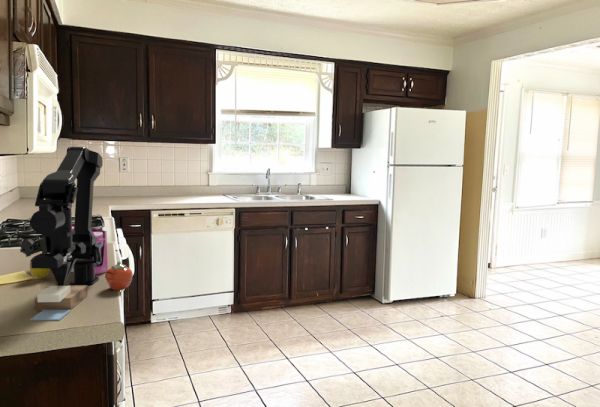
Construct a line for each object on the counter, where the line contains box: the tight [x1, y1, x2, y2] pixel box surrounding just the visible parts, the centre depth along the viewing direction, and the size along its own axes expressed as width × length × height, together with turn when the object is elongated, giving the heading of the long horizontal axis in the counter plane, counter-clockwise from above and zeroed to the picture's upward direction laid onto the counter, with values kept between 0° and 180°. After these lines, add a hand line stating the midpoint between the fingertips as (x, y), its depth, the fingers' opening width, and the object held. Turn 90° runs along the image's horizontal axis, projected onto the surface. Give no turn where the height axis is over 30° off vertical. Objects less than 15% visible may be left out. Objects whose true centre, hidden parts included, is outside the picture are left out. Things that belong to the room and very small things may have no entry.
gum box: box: [70, 223, 109, 275], centre depth 152 cm, size 24×8×14 cm, turn 55°
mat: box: [29, 310, 72, 322], centre depth 110 cm, size 6×6×1 cm
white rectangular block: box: [36, 285, 71, 302], centre depth 114 cm, size 7×5×2 cm
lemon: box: [29, 252, 51, 280], centre depth 139 cm, size 6×6×8 cm
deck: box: [34, 284, 89, 311], centre depth 119 cm, size 11×8×3 cm
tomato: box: [104, 260, 134, 291], centre depth 132 cm, size 7×7×8 cm
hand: (61, 287), depth 118 cm, fingers closed
